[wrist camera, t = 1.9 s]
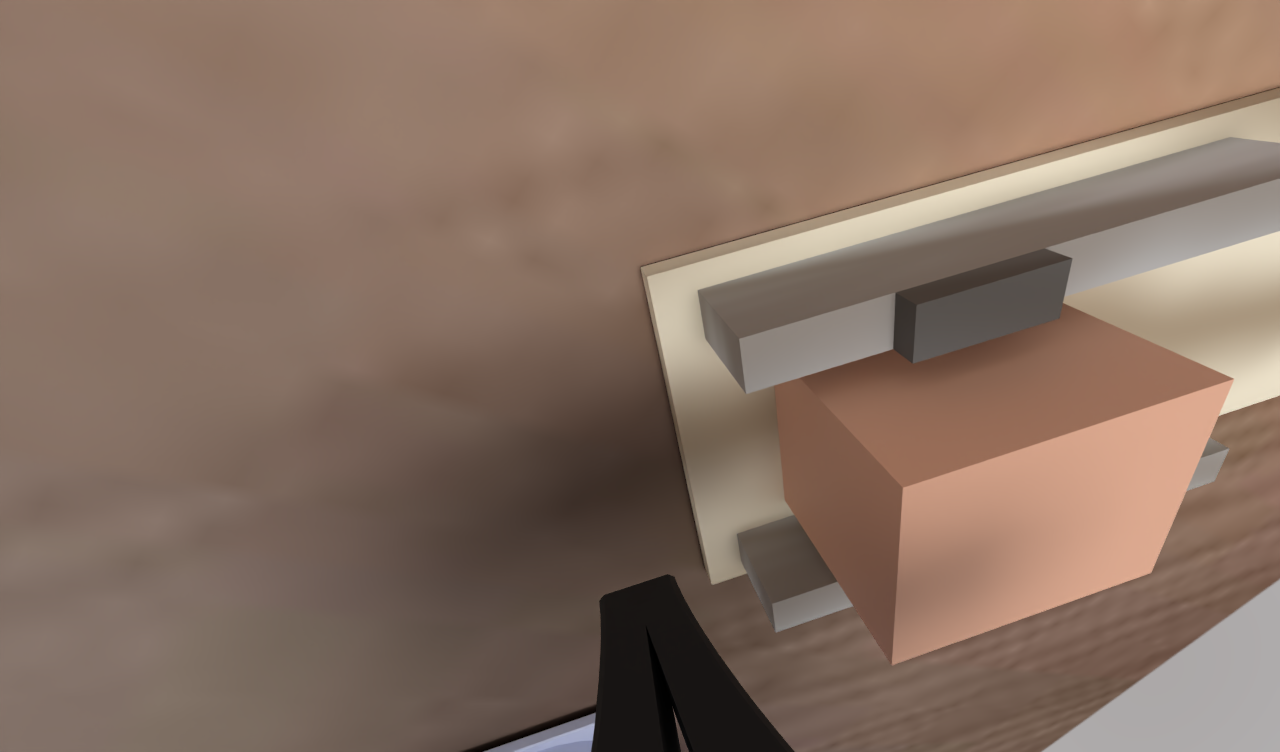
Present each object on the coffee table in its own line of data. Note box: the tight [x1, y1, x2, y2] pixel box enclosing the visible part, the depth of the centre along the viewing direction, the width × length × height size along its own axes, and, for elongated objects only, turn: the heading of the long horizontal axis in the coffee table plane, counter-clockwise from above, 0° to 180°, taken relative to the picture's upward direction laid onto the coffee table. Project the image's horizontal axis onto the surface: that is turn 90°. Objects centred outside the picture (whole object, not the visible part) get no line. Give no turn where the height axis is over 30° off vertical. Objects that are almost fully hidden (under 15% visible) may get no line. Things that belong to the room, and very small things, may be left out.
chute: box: [641, 88, 1280, 632], centre depth 14 cm, size 10×21×4 cm, turn 102°
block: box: [774, 303, 1234, 665], centre depth 13 cm, size 5×6×5 cm
